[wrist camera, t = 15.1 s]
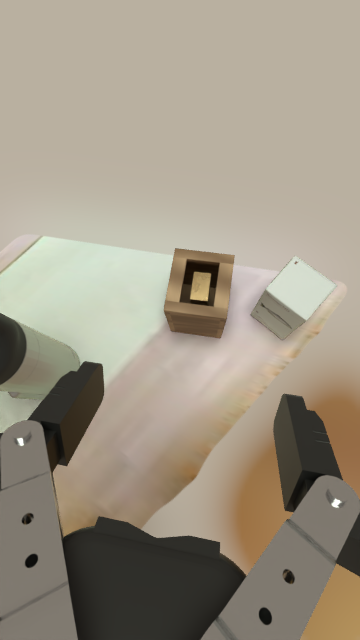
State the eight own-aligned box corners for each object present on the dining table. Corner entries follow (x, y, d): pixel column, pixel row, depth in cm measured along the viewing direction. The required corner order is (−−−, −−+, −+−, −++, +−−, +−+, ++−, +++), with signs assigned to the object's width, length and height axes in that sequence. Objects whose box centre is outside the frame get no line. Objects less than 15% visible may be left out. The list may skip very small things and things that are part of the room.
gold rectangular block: (206, 320, 54) (208, 301, 44) (191, 318, 54) (189, 299, 44) (209, 297, 55) (211, 273, 45) (194, 295, 55) (193, 271, 46)
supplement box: (248, 315, 54) (263, 288, 42) (274, 286, 55) (295, 252, 43) (281, 342, 52) (306, 321, 40) (307, 312, 54) (339, 284, 42)
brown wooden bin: (220, 338, 53) (226, 318, 42) (171, 331, 54) (163, 310, 43) (227, 286, 56) (234, 255, 44) (179, 280, 57) (175, 248, 45)
